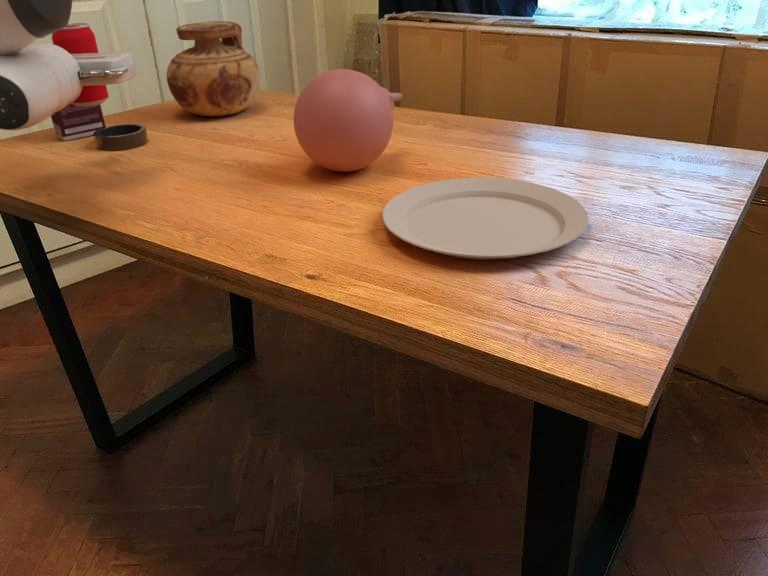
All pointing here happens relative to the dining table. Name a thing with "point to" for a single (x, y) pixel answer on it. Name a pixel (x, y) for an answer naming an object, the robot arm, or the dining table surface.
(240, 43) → the clay pot
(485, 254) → the plate
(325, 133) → the balloon
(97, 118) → the supplement box
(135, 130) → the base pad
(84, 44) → the beverage can
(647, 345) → the dining table surface
